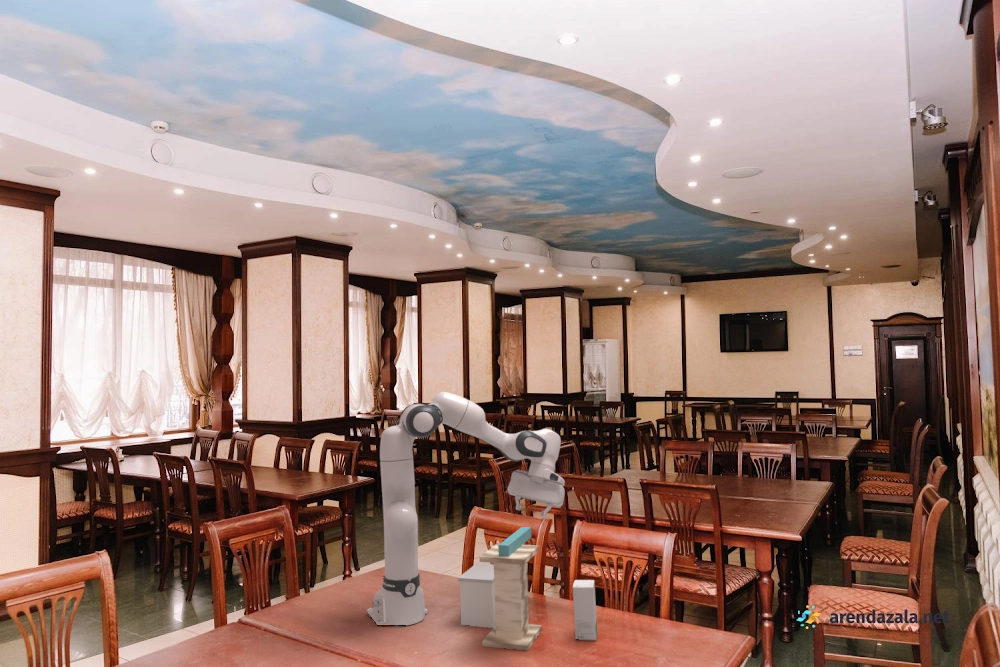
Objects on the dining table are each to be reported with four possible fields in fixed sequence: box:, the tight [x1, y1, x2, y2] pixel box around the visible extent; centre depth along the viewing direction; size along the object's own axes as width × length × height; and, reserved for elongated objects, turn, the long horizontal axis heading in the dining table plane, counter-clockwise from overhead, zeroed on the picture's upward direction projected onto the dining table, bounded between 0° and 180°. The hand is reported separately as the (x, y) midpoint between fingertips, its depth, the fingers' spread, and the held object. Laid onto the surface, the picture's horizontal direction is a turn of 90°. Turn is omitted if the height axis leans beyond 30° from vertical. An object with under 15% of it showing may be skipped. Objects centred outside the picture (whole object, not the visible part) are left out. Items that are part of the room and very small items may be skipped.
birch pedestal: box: [479, 542, 543, 652], centre depth 202 cm, size 16×14×26 cm
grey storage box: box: [457, 562, 496, 629], centre depth 220 cm, size 17×12×15 cm
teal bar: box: [498, 526, 532, 557], centre depth 209 cm, size 24×3×3 cm, turn 161°
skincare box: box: [572, 579, 598, 641], centre depth 202 cm, size 8×7×16 cm
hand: (530, 513), depth 231 cm, fingers open, 8 cm apart
